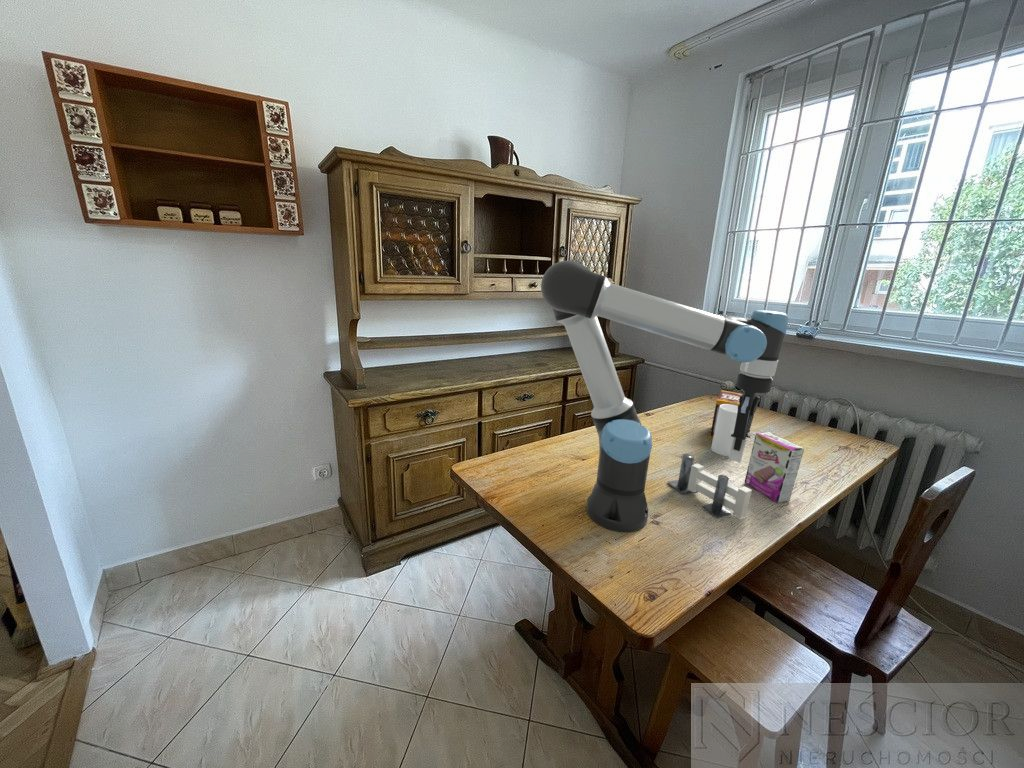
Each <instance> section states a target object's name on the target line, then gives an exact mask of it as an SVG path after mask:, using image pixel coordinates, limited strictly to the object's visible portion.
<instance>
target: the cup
mask: <svg viewBox="0 0 1024 768" xmlns="http://www.w3.org/2000/svg"><path fill="white" fill-rule="evenodd" d="M737 412H738V406H736V405H731V404H722V405H720V407H719V412H718V417H717V422H716V427H715V432H714V436H713V440H712V441H711V442H712V443H711V448H710V449H711V451H712V452H714V453H715V454H718V455H720V456H724V457H729V455H730V451H731V447H732V443H733V439H734V437H732V436H731V434H733V433H734V428H735V423H736V418H737Z"/></svg>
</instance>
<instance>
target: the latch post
mask: <svg viewBox="0 0 1024 768" xmlns="http://www.w3.org/2000/svg"><path fill="white" fill-rule="evenodd" d="M717 478H718V480H717V485H716V488H715V489H714V490H715V494H714V499H713V500H712V502H711V503H707V504H703V505H701V508H702V509H703V511H706V512H707V513H708V514H709V515H711V516H713V517H714V518H715V519H720V518H726V517H729V516H732V515H733V512H731V511H729V509H728V508H727V509H726V507H725V506H723V503H724V498H725V495H727V493H726V489H727V485H728V483H729V481H730V478H729V477H728V476H727V475H723V474H719V475H718V476H717Z"/></svg>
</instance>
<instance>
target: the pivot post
mask: <svg viewBox="0 0 1024 768" xmlns="http://www.w3.org/2000/svg"><path fill="white" fill-rule="evenodd" d="M681 458H682V459H681V463H680V469H679V475H678V479H677V480H671V481H667V485H668V486H670V487H671V488H672V489H674V490H675V491H676V492H677V493H679V494H681V495H682V496H683V495H686V494H687V495H688V494H692V493H693V492H692V491H690V490H688V489H687V488H688V483H689V478H690V472H691V467H692V465H694V462H695V455H693V454H690V453H683V454H682V457H681ZM696 492H697V493H699V492H698V491H696ZM696 492H695V493H696Z"/></svg>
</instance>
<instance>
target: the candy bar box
mask: <svg viewBox="0 0 1024 768" xmlns="http://www.w3.org/2000/svg"><path fill="white" fill-rule="evenodd" d="M804 450H805V448H804V447H803V446H800V445H798V444H796V443H794V442H791V441H790V440H787V439H785V438H782V437H781V436H779V435H776V434H774V433H772V432H769V431H764V432H763V431H762V432H756V433H755V437H754V441H753V446H752V449H751V453H750V457H749V460H748V465H747V471H746V474H745V479H744V484H745V485H747V486H748V487H751V488H752V489H754V490H755V491H758V493H760V494H762V495H764V496H766V497H767V498H769V499H770V500H772V501H774V502H775V503H777V504H781V503H785V502H789V501H790V500H791V497H792V495H793V490H794V487H795V483H796V479H797V475H798V472H799V468H800V466H801V461H802V459H803V455H804Z"/></svg>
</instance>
